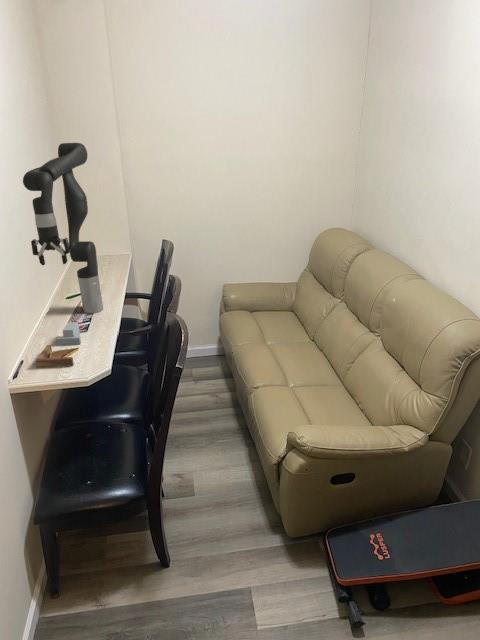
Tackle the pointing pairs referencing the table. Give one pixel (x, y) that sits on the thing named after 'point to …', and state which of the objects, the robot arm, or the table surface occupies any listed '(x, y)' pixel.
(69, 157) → the robot arm
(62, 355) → the shard
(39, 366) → the corner fence
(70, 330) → the grey inverted t block
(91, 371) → the table surface
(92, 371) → the table surface
